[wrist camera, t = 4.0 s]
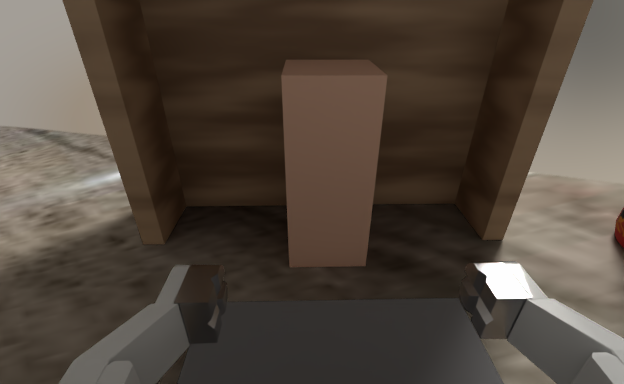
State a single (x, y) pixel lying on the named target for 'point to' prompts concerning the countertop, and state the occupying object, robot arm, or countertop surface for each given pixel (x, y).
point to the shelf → (324, 46)
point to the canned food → (620, 228)
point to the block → (331, 158)
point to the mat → (343, 344)
